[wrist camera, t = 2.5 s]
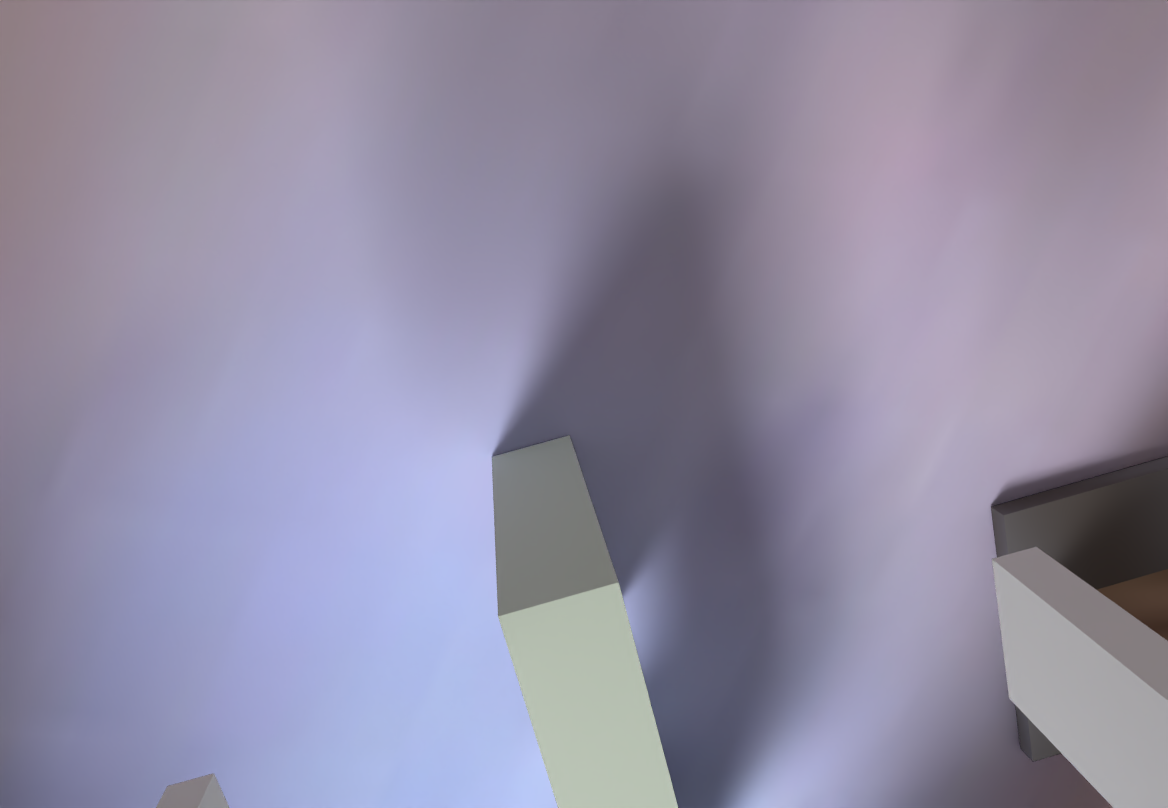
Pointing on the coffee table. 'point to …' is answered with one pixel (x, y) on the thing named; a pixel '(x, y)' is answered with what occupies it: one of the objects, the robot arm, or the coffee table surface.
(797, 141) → the coffee table surface
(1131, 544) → the brown piece
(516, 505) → the pale green upright panel
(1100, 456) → the coffee table surface
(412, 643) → the coffee table surface
